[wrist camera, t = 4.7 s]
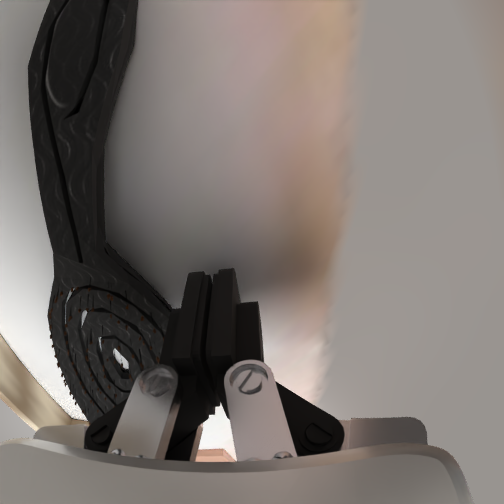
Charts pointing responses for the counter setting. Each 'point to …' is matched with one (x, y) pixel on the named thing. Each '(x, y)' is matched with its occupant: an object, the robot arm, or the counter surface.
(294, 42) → the counter surface
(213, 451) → the terracotta tile
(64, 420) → the u-shaped wooden frame
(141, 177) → the counter surface
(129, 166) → the counter surface
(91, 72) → the hairbrush
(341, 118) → the counter surface
